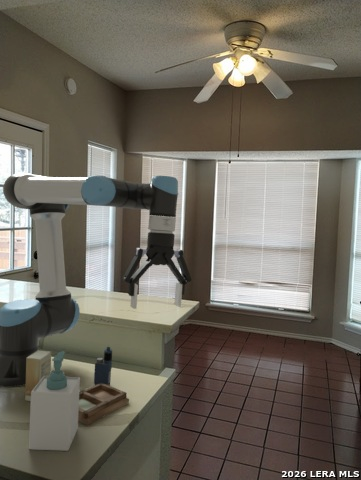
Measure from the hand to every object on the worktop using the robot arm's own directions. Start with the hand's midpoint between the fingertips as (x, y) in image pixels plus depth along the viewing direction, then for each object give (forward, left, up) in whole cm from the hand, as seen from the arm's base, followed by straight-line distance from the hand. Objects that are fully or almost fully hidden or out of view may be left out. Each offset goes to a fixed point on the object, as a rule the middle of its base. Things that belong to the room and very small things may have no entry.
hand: (156, 306), depth 106 cm
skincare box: (-25, -20, -27) cm, 42 cm away
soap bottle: (-5, -29, -27) cm, 40 cm away
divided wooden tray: (-9, -13, -27) cm, 31 cm away
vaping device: (-17, -3, -27) cm, 32 cm away
